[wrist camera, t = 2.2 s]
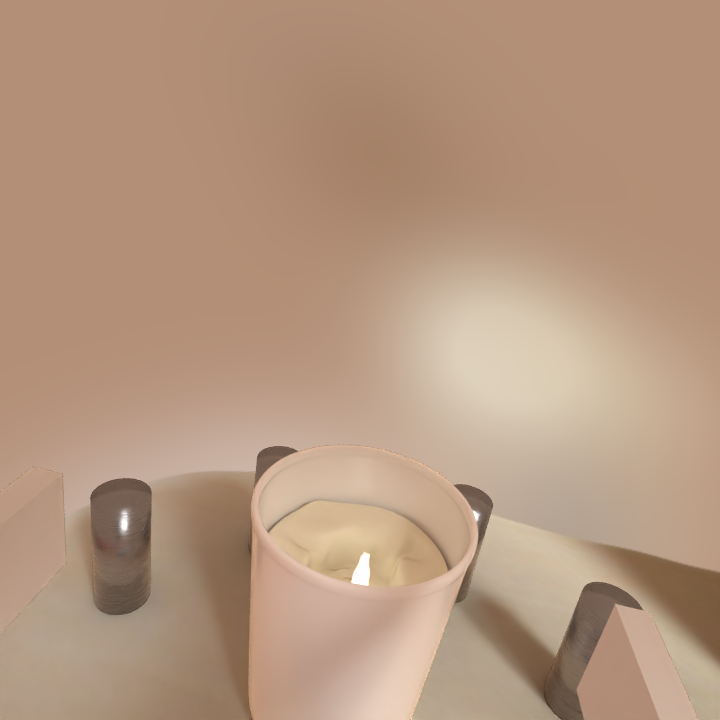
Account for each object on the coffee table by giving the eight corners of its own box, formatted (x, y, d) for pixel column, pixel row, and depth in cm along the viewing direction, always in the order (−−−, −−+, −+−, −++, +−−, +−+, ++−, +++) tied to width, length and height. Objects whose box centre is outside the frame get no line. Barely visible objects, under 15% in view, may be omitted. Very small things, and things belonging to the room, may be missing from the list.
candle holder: (459, 766, 26) (526, 570, 21) (250, 832, 22) (279, 612, 18) (381, 604, 34) (418, 438, 30) (220, 633, 31) (235, 449, 26)
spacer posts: (568, 596, 37) (601, 513, 35) (607, 734, 29) (654, 636, 26) (162, 506, 40) (164, 421, 37) (82, 607, 31) (78, 505, 28)
